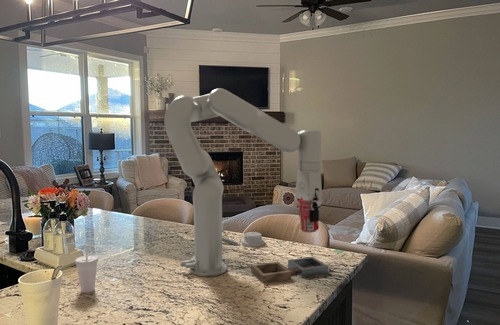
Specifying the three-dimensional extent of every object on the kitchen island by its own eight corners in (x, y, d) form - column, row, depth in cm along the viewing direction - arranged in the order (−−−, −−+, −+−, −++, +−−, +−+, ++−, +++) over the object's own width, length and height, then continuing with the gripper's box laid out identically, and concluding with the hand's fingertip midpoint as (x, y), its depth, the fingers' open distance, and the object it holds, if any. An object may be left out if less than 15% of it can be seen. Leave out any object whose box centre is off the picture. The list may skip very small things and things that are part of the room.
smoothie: (75, 296, 108) (74, 248, 107) (76, 287, 114) (74, 242, 112) (99, 292, 110) (98, 246, 109) (99, 284, 116) (97, 240, 115)
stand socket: (262, 283, 117) (262, 275, 117) (251, 272, 126) (251, 265, 126) (290, 279, 121) (291, 271, 121) (277, 268, 130) (277, 261, 130)
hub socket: (290, 279, 121) (291, 271, 121) (277, 268, 130) (277, 261, 130) (328, 273, 126) (328, 266, 126) (312, 263, 135) (312, 256, 135)
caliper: (197, 240, 164) (196, 226, 163) (198, 239, 165) (198, 225, 164) (239, 246, 156) (239, 231, 155) (240, 245, 157) (240, 230, 156)
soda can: (299, 233, 125) (298, 197, 124) (300, 227, 131) (299, 194, 130) (318, 233, 124) (317, 197, 123) (318, 227, 130) (317, 194, 129)
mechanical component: (238, 246, 155) (262, 248, 153) (238, 236, 155) (262, 237, 153) (244, 239, 165) (266, 241, 163) (244, 230, 165) (266, 231, 163)
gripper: (287, 165, 132) (287, 214, 134) (312, 169, 116) (312, 226, 118) (306, 164, 135) (305, 213, 137) (333, 168, 119) (332, 224, 120)
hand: (308, 218), depth 127 cm, fingers closed on soda can, 6 cm apart
